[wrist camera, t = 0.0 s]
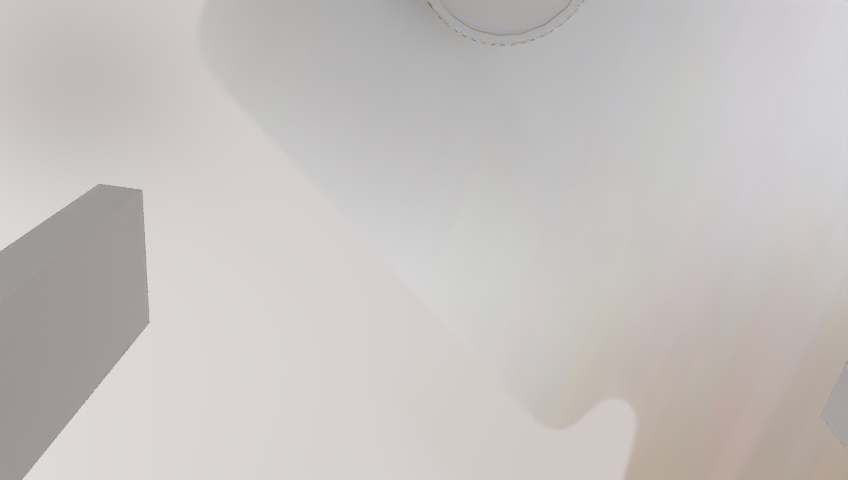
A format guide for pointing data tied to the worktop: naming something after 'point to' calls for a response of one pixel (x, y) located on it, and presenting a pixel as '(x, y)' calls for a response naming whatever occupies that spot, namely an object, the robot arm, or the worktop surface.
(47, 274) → the robot arm
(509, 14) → the bottle
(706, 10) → the worktop surface
